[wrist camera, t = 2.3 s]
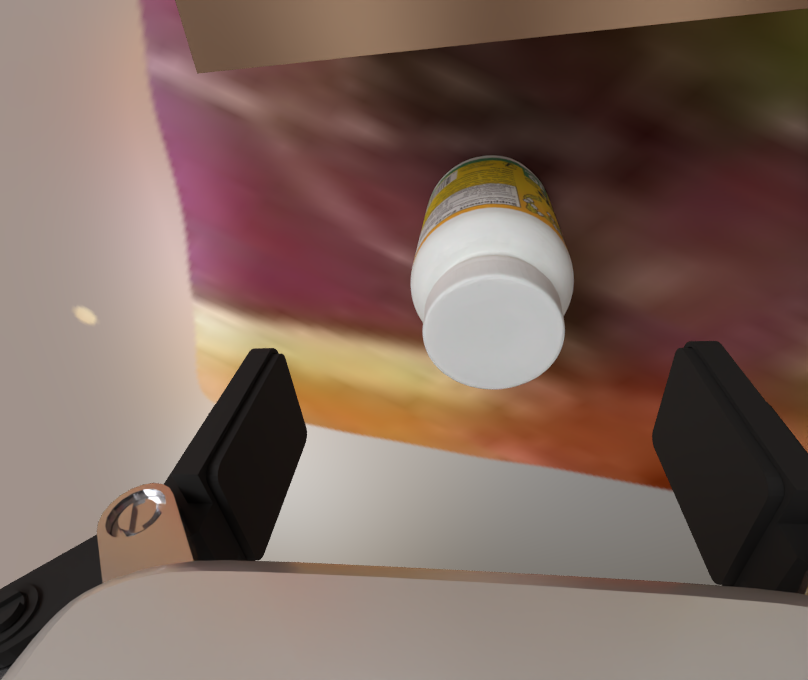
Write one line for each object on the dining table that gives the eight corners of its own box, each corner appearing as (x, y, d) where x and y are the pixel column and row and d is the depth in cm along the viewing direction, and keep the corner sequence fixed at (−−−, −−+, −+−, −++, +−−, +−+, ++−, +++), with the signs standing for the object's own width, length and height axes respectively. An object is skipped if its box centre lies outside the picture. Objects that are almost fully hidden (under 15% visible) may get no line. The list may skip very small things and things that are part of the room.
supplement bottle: (418, 163, 20) (379, 260, 12) (548, 142, 19) (596, 235, 11) (437, 275, 23) (415, 411, 15) (550, 262, 22) (589, 402, 14)
